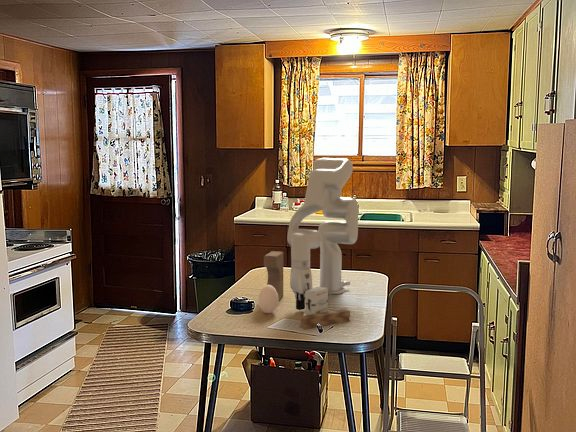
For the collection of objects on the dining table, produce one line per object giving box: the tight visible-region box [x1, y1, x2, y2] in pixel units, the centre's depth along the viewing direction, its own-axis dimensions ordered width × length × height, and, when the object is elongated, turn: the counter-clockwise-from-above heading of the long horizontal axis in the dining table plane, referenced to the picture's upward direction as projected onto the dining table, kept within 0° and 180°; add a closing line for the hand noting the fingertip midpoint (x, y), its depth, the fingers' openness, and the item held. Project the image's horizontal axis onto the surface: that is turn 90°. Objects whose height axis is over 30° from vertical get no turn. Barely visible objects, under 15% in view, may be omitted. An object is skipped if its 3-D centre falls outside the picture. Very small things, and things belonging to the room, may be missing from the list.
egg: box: [257, 284, 280, 314], centre depth 237 cm, size 8×8×11 cm
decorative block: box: [263, 250, 284, 301], centre depth 256 cm, size 11×6×20 cm, turn 163°
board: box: [299, 308, 351, 330], centre depth 224 cm, size 20×3×4 cm, turn 120°
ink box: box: [304, 286, 329, 316], centre depth 230 cm, size 8×5×12 cm, turn 141°
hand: (300, 309), depth 240 cm, fingers closed
